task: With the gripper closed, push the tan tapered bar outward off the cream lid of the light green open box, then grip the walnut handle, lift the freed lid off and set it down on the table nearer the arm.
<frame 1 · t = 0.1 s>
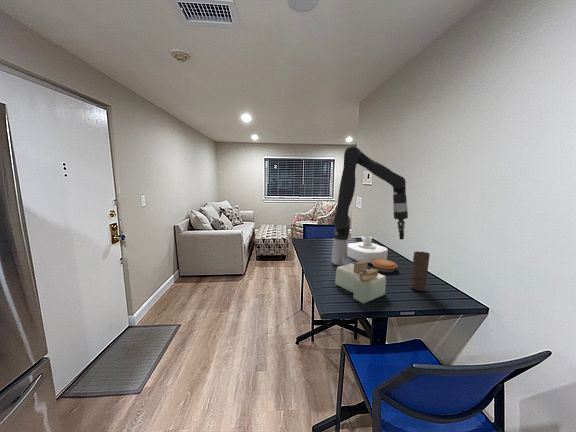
hand: (401, 237, 149), 22 cm above the table, tool pointing down, fingers open, 8 cm apart
lid: (360, 274, 130), point 8 cm above the table, touching light green open box
white knobbed disc: (365, 257, 185), on the table
tan tapered bar: (369, 272, 120), point 12 cm above the table, slide at 0.0 cm
pie: (383, 269, 161), on the table
light green open box: (358, 289, 131), on the table
candle: (417, 289, 133), on the table
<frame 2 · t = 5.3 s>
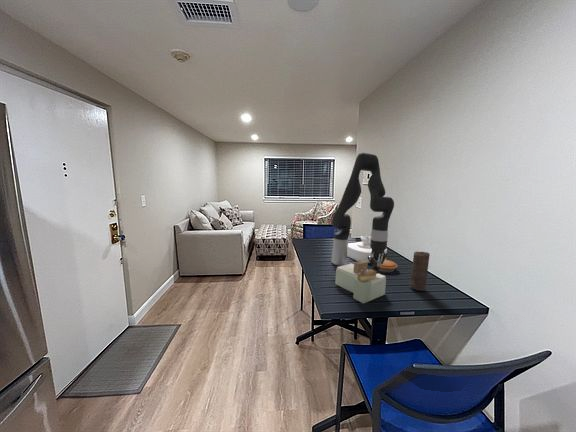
hand: (376, 273, 124), 11 cm above the table, tool pointing down, fingers closed
tan tapered bar: (367, 273, 120), point 12 cm above the table, slide at 1.4 cm, touching gripper
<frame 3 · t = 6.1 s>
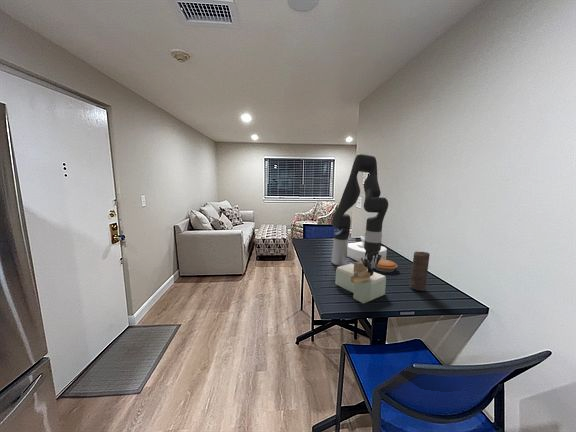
hand: (370, 275, 121), 11 cm above the table, tool pointing down, fingers closed
tan tapered bar: (360, 275, 117), point 12 cm above the table, slide at 6.0 cm, touching gripper
everything else where it was.
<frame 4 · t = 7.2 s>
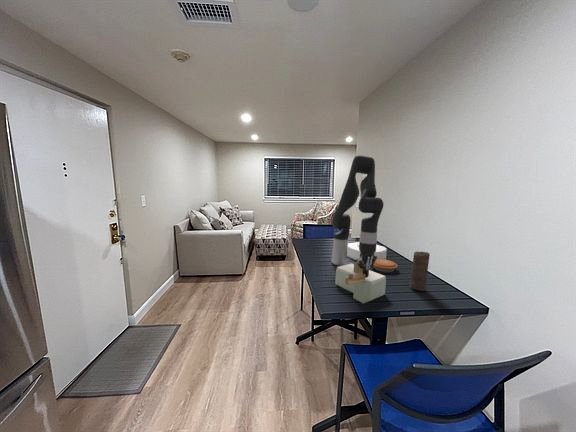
hand: (365, 276, 119), 11 cm above the table, tool pointing down, fingers closed
tan tapered bar: (355, 277, 115), point 12 cm above the table, slide at 9.7 cm, touching gripper
everything else where it was.
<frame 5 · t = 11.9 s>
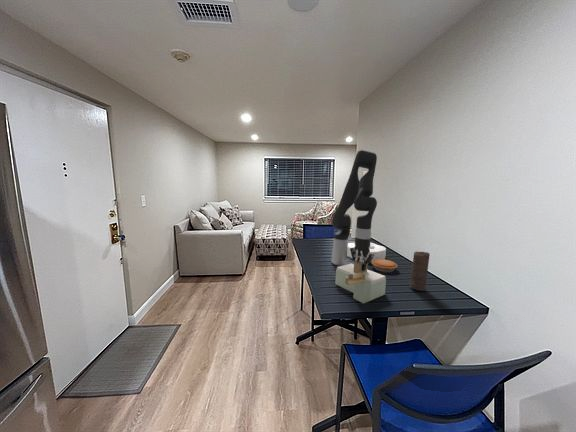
hand: (360, 269, 129), 11 cm above the table, tool pointing down, fingers closed on lid, 3 cm apart
lid: (360, 274, 130), point 8 cm above the table, touching gripper, light green open box
tan tapered bar: (355, 277, 115), point 12 cm above the table, slide at 9.7 cm
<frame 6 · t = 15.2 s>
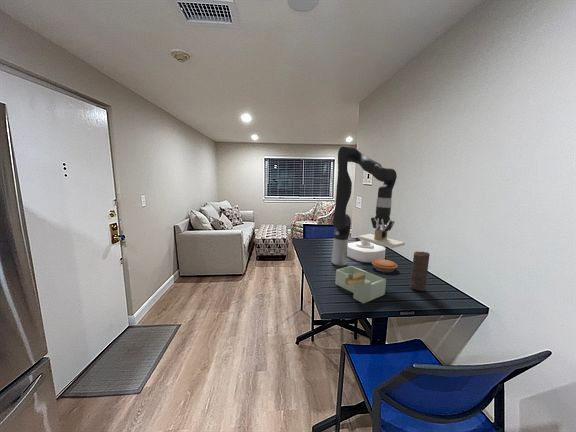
hand: (380, 237, 139), 25 cm above the table, tool pointing down, fingers closed on lid, 3 cm apart
lid: (380, 241, 140), point 22 cm above the table, touching gripper
when the fingers open (4 cm above the table, at t = 18.4 s): lid drops 2 cm, on the table.
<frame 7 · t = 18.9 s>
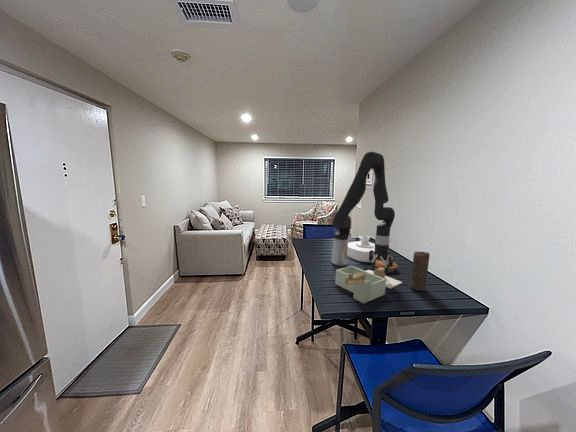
hand: (379, 270, 143), 5 cm above the table, tool pointing down, fingers open, 7 cm apart
lid: (378, 280, 144), on the table
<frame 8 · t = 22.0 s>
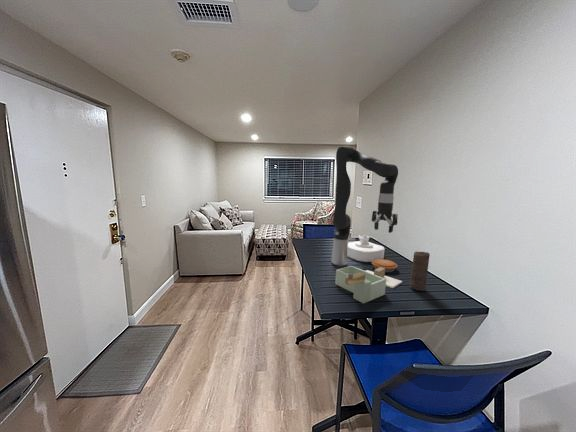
hand: (383, 231, 140), 28 cm above the table, tool pointing down, fingers open, 8 cm apart
at the end: tan tapered bar slide at 9.7 cm; lid inside the target area (0.0 cm from its centre), on the table; lid touching table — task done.
